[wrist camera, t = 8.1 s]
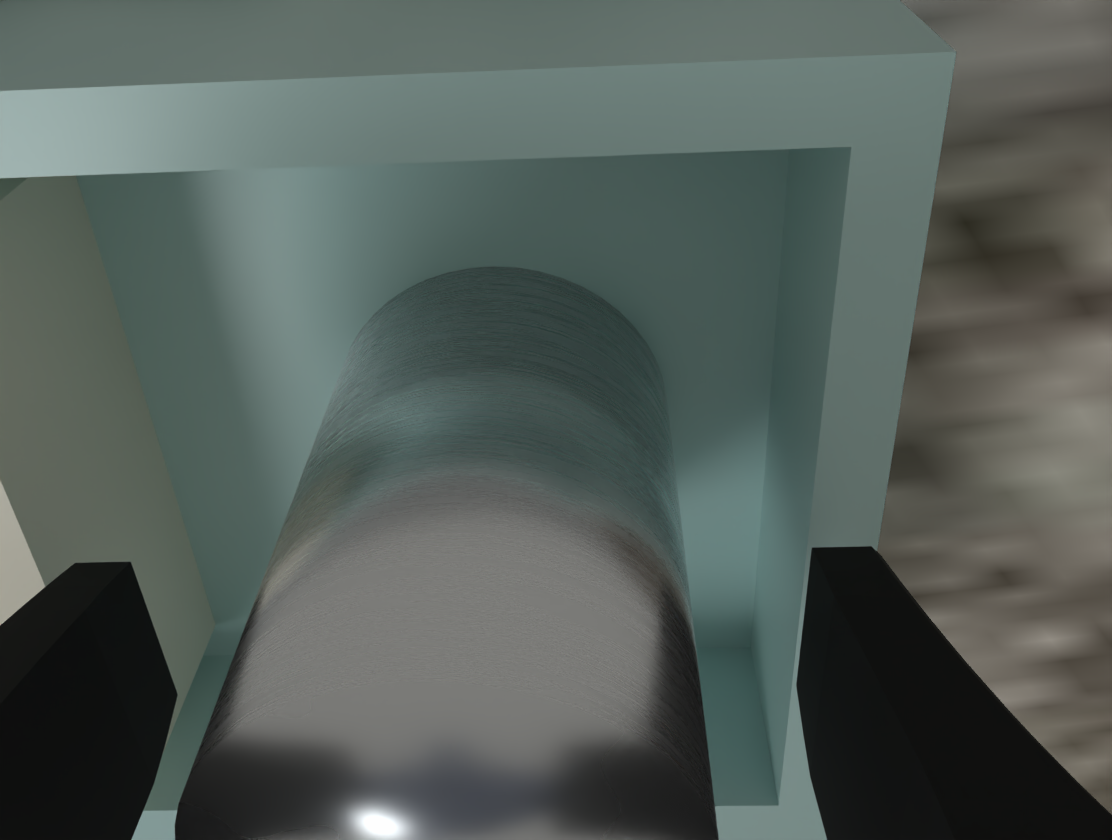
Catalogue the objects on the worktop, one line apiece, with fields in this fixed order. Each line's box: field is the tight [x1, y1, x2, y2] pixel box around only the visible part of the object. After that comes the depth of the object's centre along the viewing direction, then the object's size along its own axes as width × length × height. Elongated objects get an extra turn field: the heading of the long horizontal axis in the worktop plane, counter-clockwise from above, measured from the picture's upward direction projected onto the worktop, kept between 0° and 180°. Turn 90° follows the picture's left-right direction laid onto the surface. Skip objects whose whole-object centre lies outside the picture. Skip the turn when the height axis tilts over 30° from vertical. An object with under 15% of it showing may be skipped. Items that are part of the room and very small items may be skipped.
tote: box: [0, 0, 956, 840], centre depth 14 cm, size 16×11×4 cm
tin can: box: [175, 266, 719, 840], centre depth 12 cm, size 5×5×7 cm
